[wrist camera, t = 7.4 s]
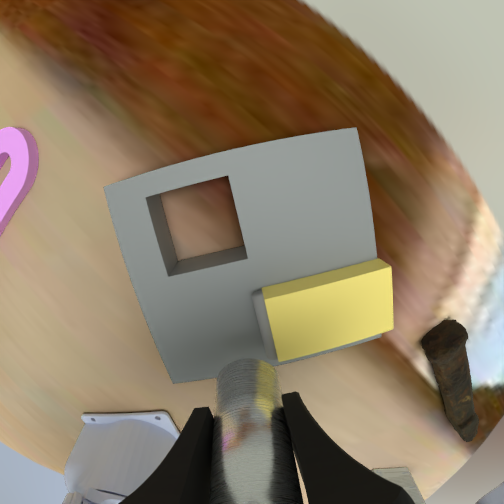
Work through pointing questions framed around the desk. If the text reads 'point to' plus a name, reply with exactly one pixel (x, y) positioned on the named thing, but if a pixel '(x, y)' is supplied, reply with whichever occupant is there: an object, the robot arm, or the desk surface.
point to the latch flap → (325, 310)
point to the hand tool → (453, 375)
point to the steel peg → (251, 438)
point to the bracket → (16, 170)
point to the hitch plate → (255, 239)
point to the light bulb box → (402, 481)
